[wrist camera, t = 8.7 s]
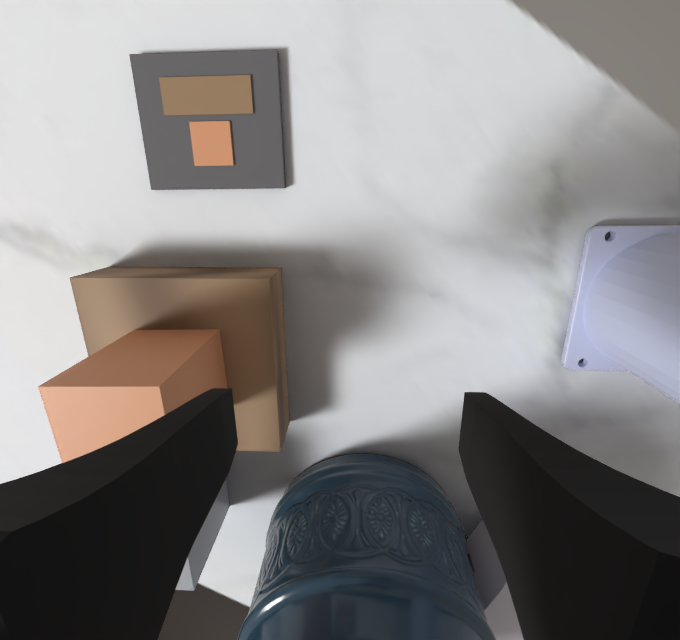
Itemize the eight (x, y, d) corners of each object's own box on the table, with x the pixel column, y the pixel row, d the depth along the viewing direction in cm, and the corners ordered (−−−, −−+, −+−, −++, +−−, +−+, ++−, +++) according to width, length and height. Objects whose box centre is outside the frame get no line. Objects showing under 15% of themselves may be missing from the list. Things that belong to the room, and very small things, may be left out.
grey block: (223, 452, 25) (182, 528, 19) (229, 505, 26) (193, 590, 21) (158, 450, 25) (98, 525, 19) (168, 503, 27) (116, 586, 21)
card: (278, 52, 17) (276, 48, 17) (285, 188, 19) (284, 187, 19) (134, 57, 18) (128, 53, 17) (155, 189, 20) (150, 189, 19)
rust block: (219, 329, 19) (159, 386, 13) (229, 406, 20) (179, 488, 14) (133, 330, 19) (38, 386, 13) (150, 406, 20) (69, 486, 15)
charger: (590, 655, 29) (423, 591, 28) (669, 581, 27) (487, 507, 25) (632, 737, 25) (435, 666, 24) (732, 659, 22) (514, 573, 21)
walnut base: (282, 266, 21) (268, 279, 18) (291, 417, 24) (280, 451, 21) (114, 265, 22) (69, 277, 18) (143, 413, 25) (110, 446, 21)
